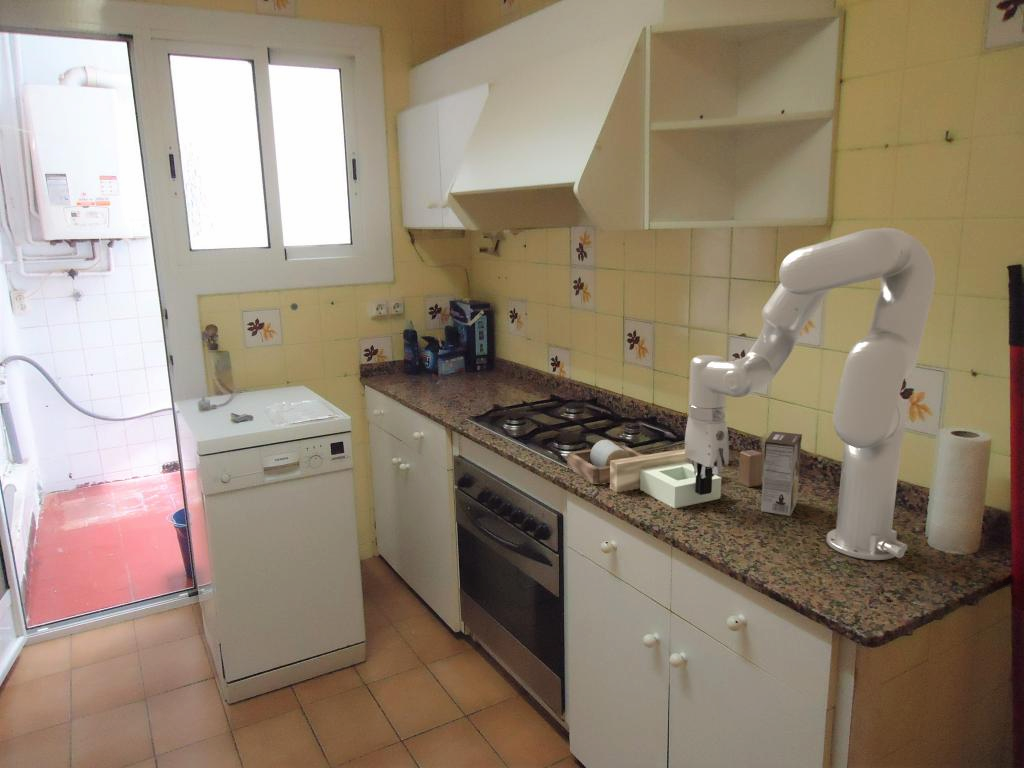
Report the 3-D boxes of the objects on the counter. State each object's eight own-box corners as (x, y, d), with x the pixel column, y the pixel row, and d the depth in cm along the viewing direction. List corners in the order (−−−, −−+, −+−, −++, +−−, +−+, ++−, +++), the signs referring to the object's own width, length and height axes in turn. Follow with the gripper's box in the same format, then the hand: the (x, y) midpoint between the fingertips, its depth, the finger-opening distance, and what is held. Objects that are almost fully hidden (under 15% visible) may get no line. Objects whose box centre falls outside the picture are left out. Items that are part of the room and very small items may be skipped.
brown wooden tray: (654, 475, 178) (654, 460, 177) (594, 486, 171) (594, 470, 171) (622, 458, 191) (622, 444, 191) (566, 467, 185) (566, 452, 184)
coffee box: (767, 497, 163) (772, 430, 159) (797, 502, 160) (802, 433, 156) (760, 511, 155) (764, 440, 151) (791, 517, 152) (796, 444, 148)
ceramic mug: (606, 479, 176) (607, 449, 174) (589, 469, 183) (590, 440, 182) (642, 473, 180) (643, 444, 179) (623, 464, 188) (625, 436, 186)
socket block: (720, 498, 163) (721, 477, 162) (674, 508, 157) (675, 486, 156) (684, 480, 174) (684, 461, 173) (639, 489, 169) (640, 469, 168)
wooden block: (737, 482, 172) (739, 451, 171) (750, 480, 174) (752, 449, 172) (748, 488, 169) (750, 455, 167) (762, 485, 170) (764, 453, 169)
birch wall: (707, 476, 177) (708, 449, 175) (616, 492, 167) (616, 464, 165) (699, 473, 179) (700, 446, 178) (609, 488, 170) (610, 460, 168)
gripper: (744, 418, 148) (739, 501, 152) (699, 403, 162) (696, 480, 166) (714, 423, 146) (710, 507, 149) (671, 407, 159) (669, 484, 163)
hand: (703, 492), depth 158 cm, fingers closed
